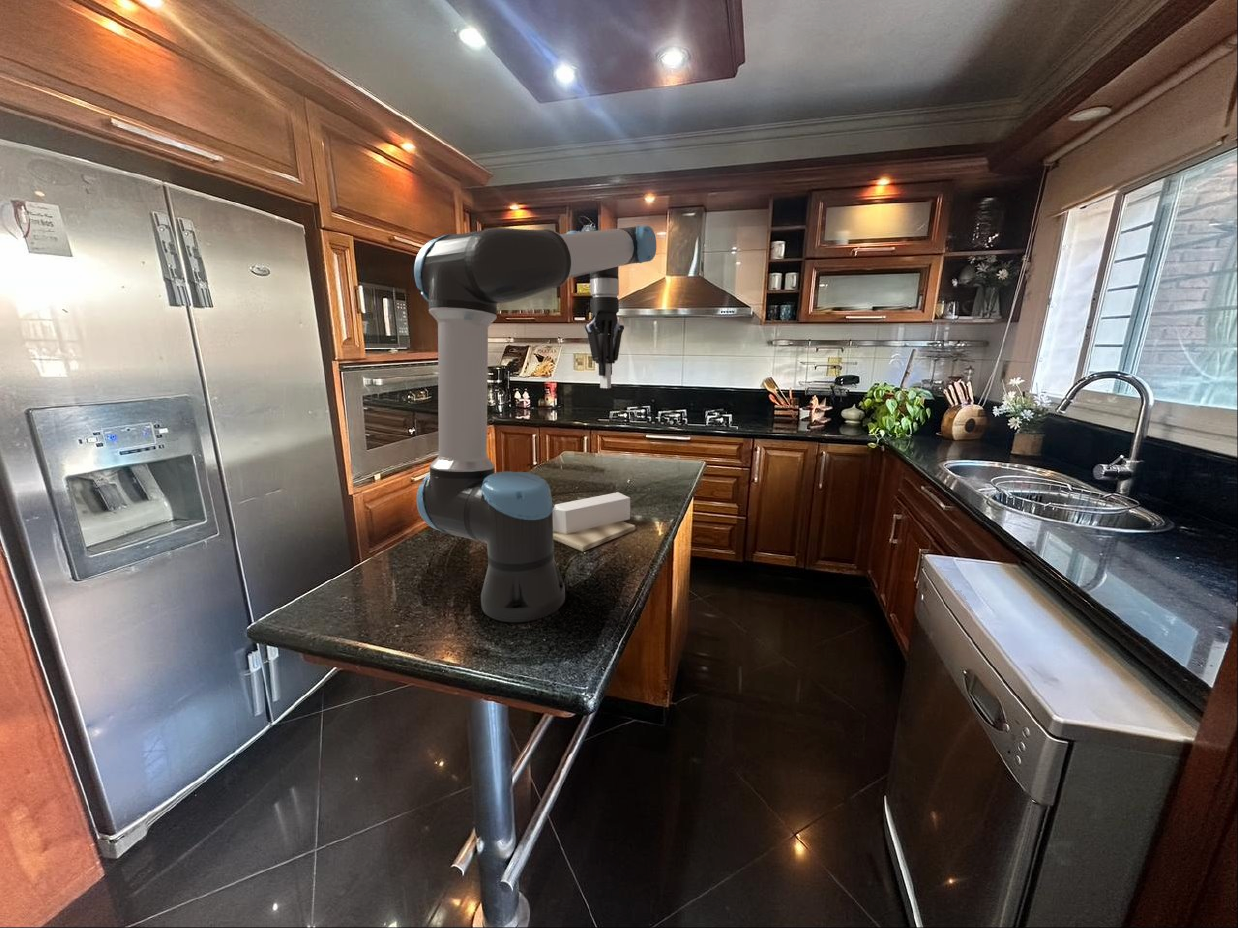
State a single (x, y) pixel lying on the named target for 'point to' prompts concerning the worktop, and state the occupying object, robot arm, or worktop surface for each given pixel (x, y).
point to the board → (594, 535)
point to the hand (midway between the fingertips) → (605, 387)
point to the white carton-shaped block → (590, 512)
